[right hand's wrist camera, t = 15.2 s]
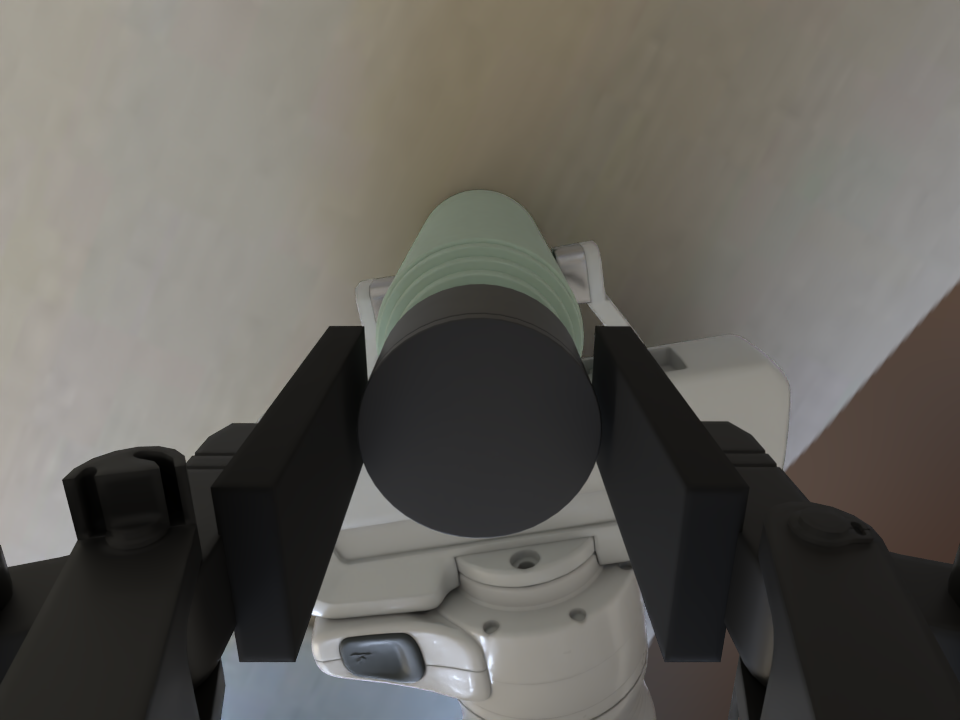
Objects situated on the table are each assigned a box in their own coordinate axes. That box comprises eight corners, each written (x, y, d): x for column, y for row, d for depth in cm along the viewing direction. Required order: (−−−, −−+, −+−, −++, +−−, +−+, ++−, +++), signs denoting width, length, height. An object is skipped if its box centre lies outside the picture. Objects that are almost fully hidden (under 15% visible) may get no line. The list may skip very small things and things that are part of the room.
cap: (425, 247, 13) (413, 275, 11) (618, 335, 14) (647, 380, 12) (347, 428, 15) (321, 488, 12) (526, 499, 15) (534, 570, 13)
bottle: (448, 167, 27) (400, 233, 11) (563, 222, 28) (678, 360, 12) (398, 283, 29) (295, 487, 13) (508, 331, 30) (543, 582, 14)
